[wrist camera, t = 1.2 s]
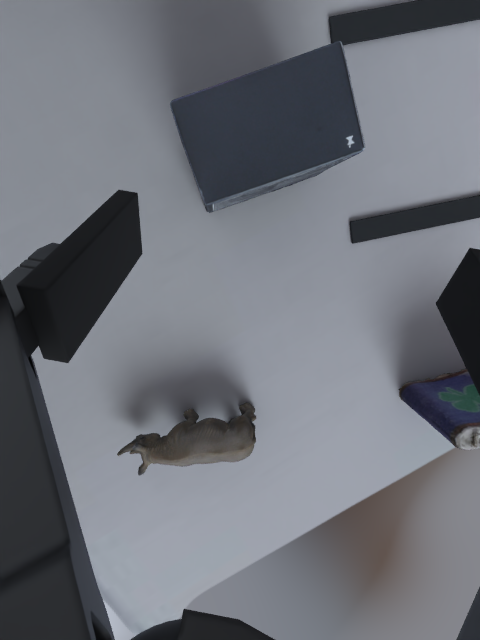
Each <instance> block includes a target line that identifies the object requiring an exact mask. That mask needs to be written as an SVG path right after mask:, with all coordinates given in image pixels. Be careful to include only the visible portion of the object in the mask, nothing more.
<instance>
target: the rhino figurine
mask: <svg viewBox="0 0 480 640" xmlns="http://www.w3.org/2000/svg"><path fill="white" fill-rule="evenodd" d="M239 409H240V410H241V413H242V415H241V416H238V417H236V418H234V419H231V421H230V424H228V423H226V422H225V421H223V420H220V419H216V418H206V419H203V420H201V421H199V422H198V423H196V421H197V419H198V418H199V416H198V414H197V413H196V412H195V411H194V410H193V409H189V410H188V411H185V412H184V414H183V415H184V417H185V418H186V421H183V422H181V423H179V424H177V425H176V426H175V427H174V428H173V429H172V430H171V431H170V432H169V433H168V435H167V436H163V437H160V435H159V434H156V433H151V434H147V435H142V434H141V435H139V436H136V439H135V440H133V441H132V442H131V443H129V444H128V445H126V446H125V447H124V448H122V449H121V450H120V451H119V452H118V454H117V455H118V456H119V455H121V454H123V453H125V452H128V451H131V452H130V454H134V453H139V454H141V456H142V460H143V464H142V465H141V466H140V467H139V470H138V475H141V474H143V473H144V472H145V470H146V469H147V467H148V465H150V464H151V463H153V464H156V463H158V464H165V465H174V466H190V465H192V464H208V463H216V462H222V461H225V462H237V461H240V460H243V459H245V458H246V457H248V456H249V455H250V454H251V453H252V451H253V448H254V444H255V442H256V438H255V425H254V424H253V423H252V421H254V420H255V419H256V416H255V415H254V412H255V408H254V406H252V405H251V404H250V403H245V404H243V405H241V406H240V407H239Z"/></svg>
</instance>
